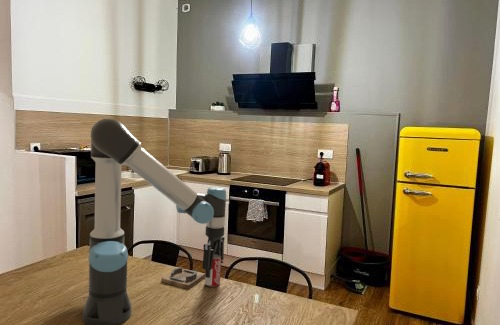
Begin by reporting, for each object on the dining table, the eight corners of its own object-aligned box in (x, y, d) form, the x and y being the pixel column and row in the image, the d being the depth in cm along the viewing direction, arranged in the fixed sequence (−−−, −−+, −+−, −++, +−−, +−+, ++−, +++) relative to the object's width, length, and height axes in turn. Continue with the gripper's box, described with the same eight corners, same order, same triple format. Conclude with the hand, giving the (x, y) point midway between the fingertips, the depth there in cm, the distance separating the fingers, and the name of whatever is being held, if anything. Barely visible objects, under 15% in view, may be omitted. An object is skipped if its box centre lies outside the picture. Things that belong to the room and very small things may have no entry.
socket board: (205, 277, 157) (205, 269, 157) (188, 288, 145) (189, 280, 145) (179, 271, 162) (179, 263, 162) (161, 281, 150) (161, 274, 150)
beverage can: (221, 282, 153) (222, 254, 152) (218, 288, 147) (219, 259, 146) (206, 280, 154) (207, 252, 152) (203, 287, 147) (204, 258, 146)
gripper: (218, 219, 158) (215, 271, 160) (194, 230, 141) (192, 288, 143) (233, 222, 155) (231, 275, 157) (211, 233, 138) (209, 292, 140)
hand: (212, 281), depth 150 cm, fingers closed on beverage can, 6 cm apart
